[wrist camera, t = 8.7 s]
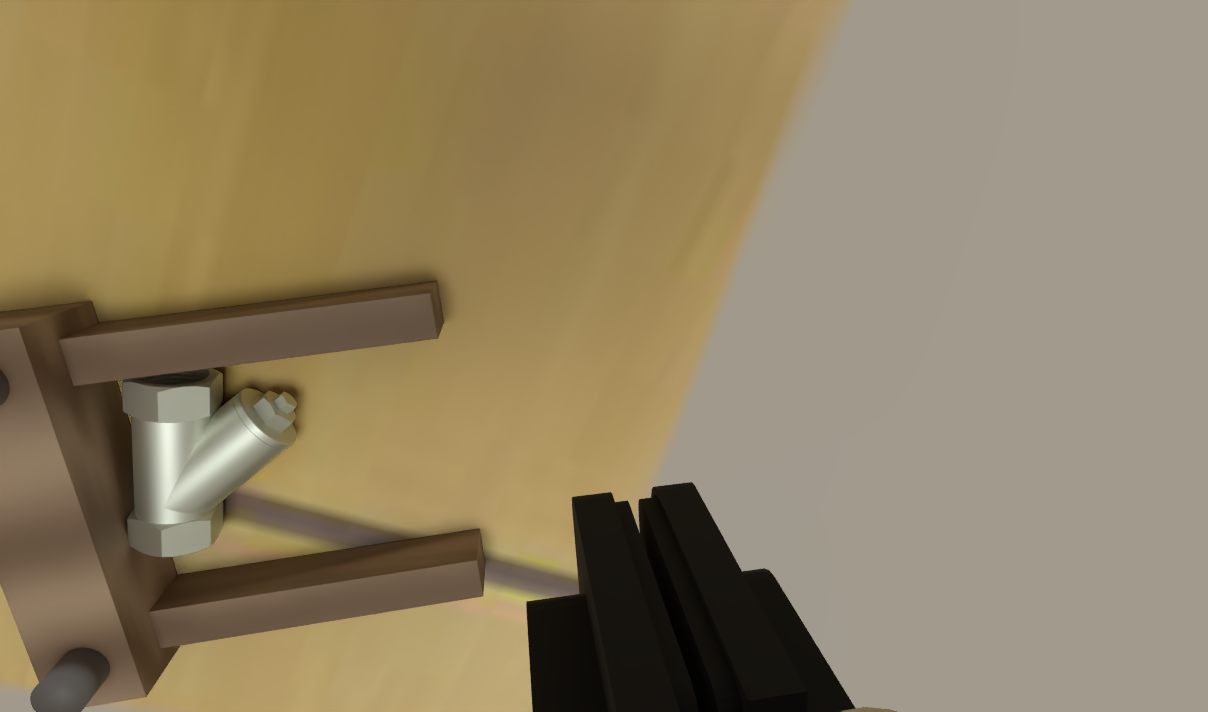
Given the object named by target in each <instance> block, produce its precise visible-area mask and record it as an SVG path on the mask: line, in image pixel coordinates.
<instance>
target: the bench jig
mask: <svg viewBox="0 0 1208 712" xmlns="http://www.w3.org/2000/svg"><path fill="white" fill-rule="evenodd" d="M443 324H444V320H443V314H442V308H441V302H440V297H439V291H438V285H437V281H433V282H425V283H417V284H409V285H401V286H392V287H384V288H376V289H368V290H360V291H352V292H344V293H336V294H328V295H320V296H312V297H303V298H295V299H287V300H279V301H271V302H263V303H255V304H247V305H239V306H231V307H223V308H214V309H206V310H198V311H190V312H182V313H174V314H166V315H158V316H150V317H142V318H134V319H125V320H117V321H109V322H101V323H98V320H97V317H96V314H95V311H94V307H93V304H92V301H88V302H79V303H71V304H63V305H55V306H46V307H38V308H30V309H21V310H13V311H5V312H0V584H1V587H2V589H3V592H4V594H5V597H6V600H7V602H8V605H9V607H10V610H11V612H12V615H13V617H14V620H15V622H16V625H17V627H18V630H19V633H20V635H21V638H22V640H23V643H24V645H25V648H26V650H27V653H28V655H29V658H30V660H31V663H32V665H33V668H34V671H35V673H36V676H37V678H38V681H39V684H38V685H37V686H36V687H35V688H34V690H33V691H32V693H31V698H30V699H31V705H32V707H33V708H34V710H35V711H36V712H81V711H82V710H83V709H84V707H89V706H96V705H102V704H108V703H114V702H119V701H125V700H131V699H137V698H143V697H147V695H148V694H149V692H150V691H151V689H152V688H153V686H154V685H155V683H156V682H157V680H158V679H159V677H160V676H161V674H162V673H163V671H164V670H165V668H166V667H167V665H168V664H169V662H170V660H171V659H172V657H173V656H174V654H175V653H176V651H177V650H178V648H179V647H180V645H186V644H192V643H198V642H204V641H210V640H217V639H223V638H229V637H235V636H241V635H247V634H254V633H260V632H266V631H272V630H278V629H284V628H291V627H297V626H303V625H309V624H315V623H321V622H328V621H334V620H340V619H346V618H352V617H358V616H365V615H371V614H377V613H383V612H389V611H395V610H402V609H408V608H414V607H420V606H426V605H433V604H439V603H445V602H451V601H457V600H463V599H470V598H476V597H482V596H483V591H484V575H485V558H484V552H483V546H482V541H481V535H480V529H475V530H468V531H462V532H455V533H449V534H442V535H436V536H429V537H423V538H416V539H410V540H403V541H397V542H390V543H384V544H377V545H371V546H364V547H358V548H351V549H345V550H338V551H332V552H325V553H319V554H312V555H306V556H299V557H293V558H286V559H280V560H273V561H267V562H260V563H254V564H247V565H241V566H234V567H228V568H221V569H215V570H208V571H202V572H195V573H189V574H182V575H177V573H176V570H175V566H174V563H173V560H172V557H155V556H150V555H147V554H144V553H142V552H140V551H137V550H136V549H134V548H132V547H131V546H130V543H129V539H128V524H127V519H128V517H129V515H130V513H131V512H132V510H133V509H134V481H133V454H132V429H131V426H130V422H129V419H128V416H127V413H125V412H123V400H122V397H121V394H120V391H119V387H118V384H117V381H116V380H123V379H131V378H139V377H146V376H154V375H162V374H169V373H177V372H185V371H192V370H200V369H208V368H215V367H223V366H231V365H238V364H246V363H254V362H261V361H269V360H277V359H284V358H292V357H300V356H307V355H315V354H323V353H330V352H338V351H346V350H353V349H361V348H369V347H376V346H384V345H392V344H399V343H407V342H415V341H422V340H430V339H438V337H439V334H440V332H441V329H442V326H443Z"/></svg>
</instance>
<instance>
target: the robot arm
mask: <svg viewBox="0 0 1208 712" xmlns="http://www.w3.org/2000/svg"><path fill="white" fill-rule="evenodd" d="M572 509H573V522H574V533H575V545H576V557H577V568H578V580H579V592H580V594H578V595H570V596H563V597H556V598H549V599H542V600H535V601H527V603H526V605H527V624H528V640H529V657H530V673H531V690H532V707H533V712H896V711H893V710H890V709H880V708H869V707H863V708H857V709H856V708H855V707H854V705H853V704H852V702H851V700H850V699H849V697H848V696H847V694H846V692H845V691H844V689H843V687H842V686H841V684H840V683H839V681H838V679H837V678H836V676H835V675H834V673H833V671H832V670H831V668H830V666H829V665H828V663H827V662H826V660H825V658H824V657H823V655H822V653H821V652H820V650H819V648H818V647H817V645H816V644H815V642H814V640H813V639H812V637H811V635H810V634H809V632H808V631H807V629H806V628H805V626H804V624H803V622H802V621H801V619H800V618H799V616H798V614H797V613H796V611H795V609H794V608H793V606H792V605H791V603H790V601H789V600H788V598H787V596H786V595H785V593H784V592H783V590H782V588H781V587H780V585H779V583H778V582H777V580H776V579H775V577H774V576H773V574H772V573H771V572H770V571H769V570H767V569H757V570H751V571H743V572H742V571H741V569H740V567H739V565H738V564H737V562H736V560H735V558H734V556H733V554H732V552H731V551H730V549H729V547H728V546H727V544H726V542H725V540H724V538H723V536H722V534H721V533H720V531H719V529H718V527H717V525H716V523H715V522H714V520H713V518H712V516H711V514H710V513H709V511H708V509H707V507H706V505H705V503H704V502H703V500H702V498H701V496H700V494H699V493H698V491H697V489H696V487H695V485H694V484H693V483H692V482H691V483H682V484H673V485H665V486H657V487H653V488H652V494H651V498H645V499H639V527H640V533H639V530H638V527H637V525H636V522H635V519H634V516H633V513H632V510H631V507H630V505H629V502H628V501H621V502H615V501H614V498H613V495H612V493H611V492H609V493H601V494H593V495H585V496H577V497H572Z"/></svg>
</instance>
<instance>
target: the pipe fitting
mask: <svg viewBox="0 0 1208 712" xmlns="http://www.w3.org/2000/svg"><path fill="white" fill-rule="evenodd" d="M122 400H123V412H125V413H127V414H128V415H130V416H131V428H132V454H133V481H134V509H133V510H132V512H131V513H130V515H129V517H128V519H127V524H128V539H129V543H130V546H131V547H132V548H134V549H136V550H137V551H140V552H142V553H144V554H147V555H150V556H155V557H175V556H182V555H187V554H191V553H194V552H197V551H200V550H203V549H205V548H207V547H210V546H211V545H212V544H213V543H214V542H215V540H216V539H217V537H218V535H219V533H220V531H221V529H222V527H223V500H224V499H225V498H226V497H228V496H229V495H230V494H231V493H233V492H234V491H235V490H236V489H238V488H239V487H240V486H241V485H242V484H244V483H245V482H246V481H247V480H249V479H250V478H251V477H252V476H254V475H255V474H256V473H257V472H259V471H260V470H261V469H262V468H264V467H265V466H266V465H267V464H269V463H270V462H271V461H272V460H274V459H275V458H276V457H277V456H279V455H280V454H281V453H282V452H284V451H285V450H286V449H287V448H288V447H290V446H291V445H292V444H293V443H294V442H295V440H296V431H295V428H294V426H293V424H292V423H293V422H294V420H295V418H296V415H295V412H294V409H295V408H296V406H297V403H296V401H295V399H294V398H293V397H292V396H291V395H290V394H288V393H286V392H282V393H281V394H280V395H279V394H277V393H275V392H272V391H268V392H266V393H265V394H264V393H262V392H260V391H257V390H255V389H250V388H246V389H243V390H241V391H240V392H239V393H238V394H237V395H235V396H234V397H233V398H232V399H230V400H229V401H228V402H227V403H225V404H224V405H223V406H222V407H220V405H221V403H222V401H223V374H222V373H221V372H219V371H217V370H215V369H213V368H208V369H200V370H192V371H185V372H177V373H169V374H162V375H154V376H146V377H139V378H131V379H124V380H123V381H122ZM219 407H220V408H219ZM218 408H219V409H218Z"/></svg>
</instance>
